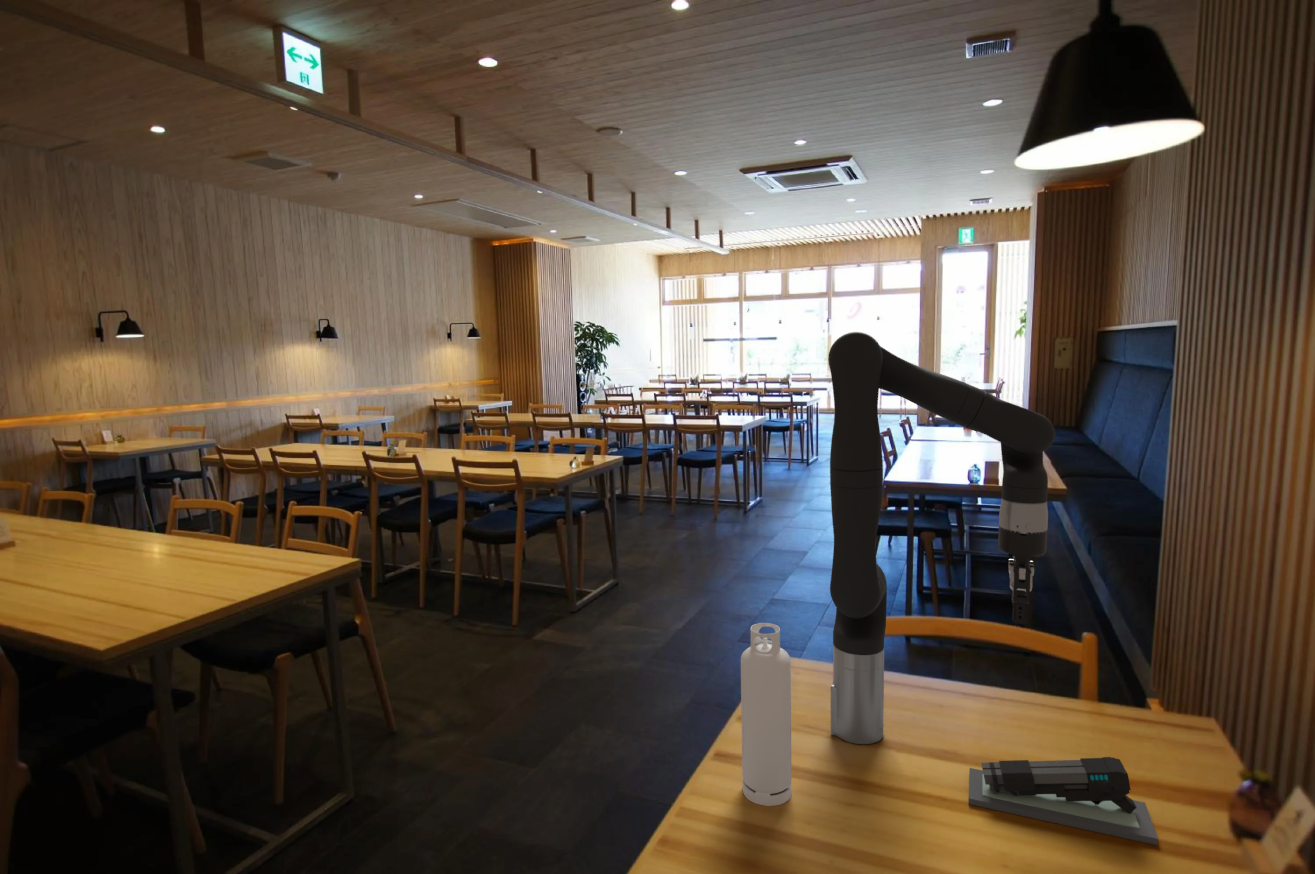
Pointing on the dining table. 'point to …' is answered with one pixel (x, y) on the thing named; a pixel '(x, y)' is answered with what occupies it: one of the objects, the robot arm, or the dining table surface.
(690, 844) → the dining table surface
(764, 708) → the bottle
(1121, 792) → the gun
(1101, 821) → the charging mat
